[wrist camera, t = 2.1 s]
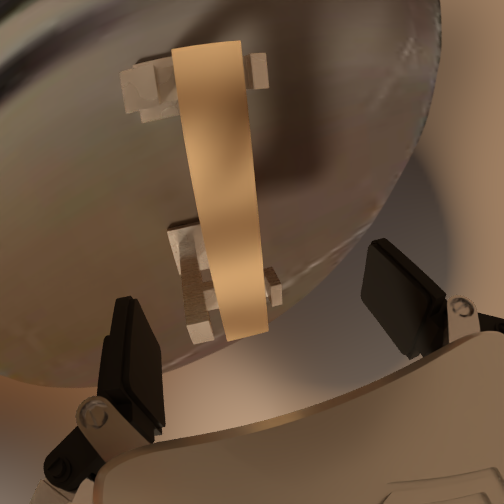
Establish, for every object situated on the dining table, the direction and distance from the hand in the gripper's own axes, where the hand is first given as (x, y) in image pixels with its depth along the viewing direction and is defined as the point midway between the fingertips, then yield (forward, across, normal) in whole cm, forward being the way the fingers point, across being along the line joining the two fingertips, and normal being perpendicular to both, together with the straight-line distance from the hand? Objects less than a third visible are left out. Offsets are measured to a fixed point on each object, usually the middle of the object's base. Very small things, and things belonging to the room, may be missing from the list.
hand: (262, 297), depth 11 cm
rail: (+8, 0, -1) cm, 8 cm away
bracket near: (+16, +1, -9) cm, 18 cm away
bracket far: (+16, +1, +6) cm, 18 cm away
